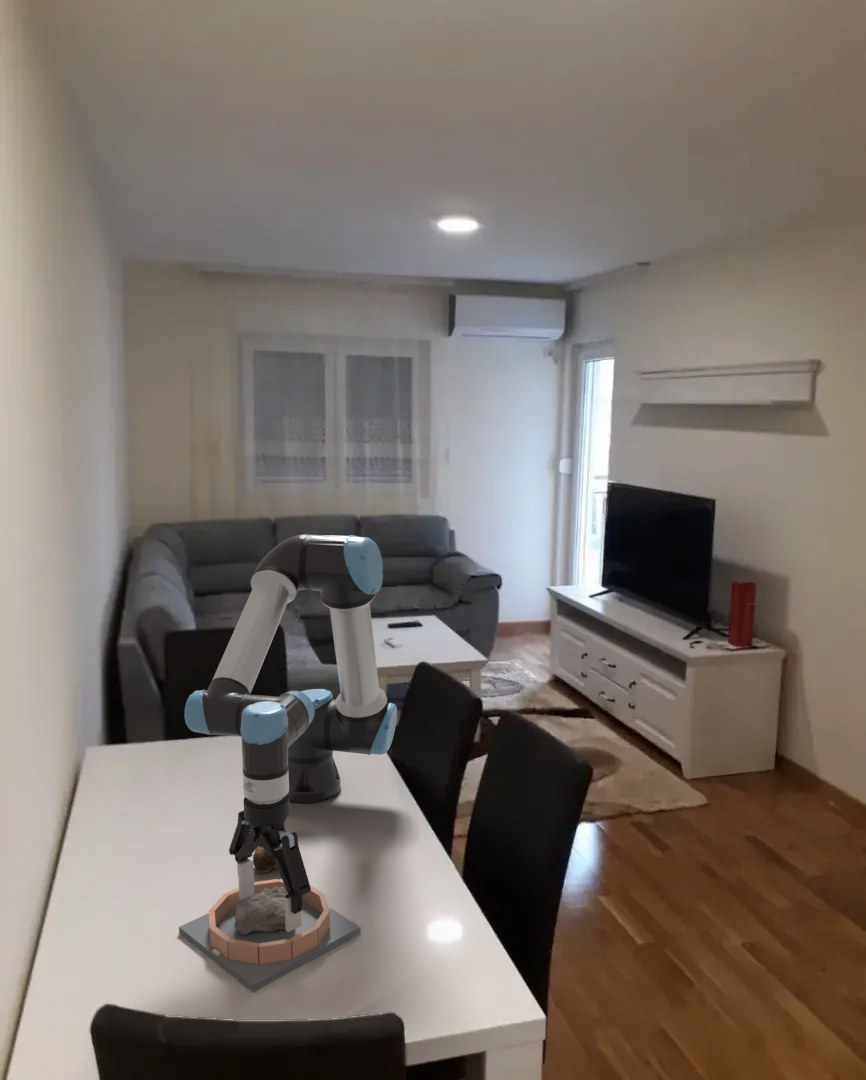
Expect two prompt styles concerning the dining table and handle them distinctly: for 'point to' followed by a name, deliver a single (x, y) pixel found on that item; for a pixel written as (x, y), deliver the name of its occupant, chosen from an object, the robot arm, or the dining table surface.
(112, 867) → the dining table surface
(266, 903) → the stone
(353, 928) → the socket
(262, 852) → the mushroom
